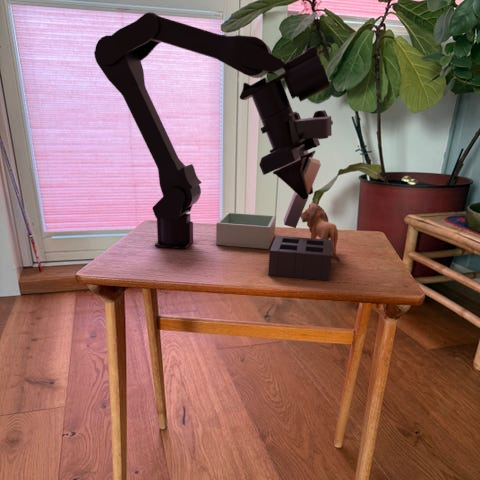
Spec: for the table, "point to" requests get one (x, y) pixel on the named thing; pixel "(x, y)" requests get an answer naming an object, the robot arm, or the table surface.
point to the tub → (245, 230)
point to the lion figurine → (320, 226)
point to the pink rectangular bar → (297, 202)
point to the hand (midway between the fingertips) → (308, 196)
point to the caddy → (300, 258)
